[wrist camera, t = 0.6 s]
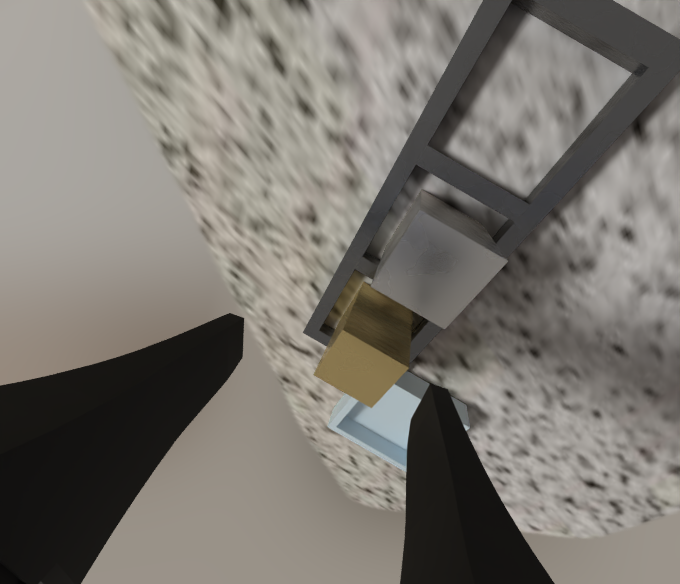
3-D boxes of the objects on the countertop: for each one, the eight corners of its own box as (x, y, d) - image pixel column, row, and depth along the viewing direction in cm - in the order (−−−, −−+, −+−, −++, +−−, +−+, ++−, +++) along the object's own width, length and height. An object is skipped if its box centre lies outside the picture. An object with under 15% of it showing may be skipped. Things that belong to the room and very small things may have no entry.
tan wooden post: (412, 309, 20) (409, 368, 15) (384, 346, 22) (371, 408, 17) (363, 281, 20) (342, 329, 15) (339, 320, 22) (313, 374, 17)
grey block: (481, 223, 16) (508, 261, 11) (439, 277, 18) (444, 329, 13) (421, 189, 16) (420, 209, 11) (385, 246, 18) (370, 286, 13)
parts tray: (466, 405, 22) (470, 427, 20) (408, 450, 27) (407, 473, 25) (376, 353, 22) (372, 371, 20) (333, 407, 26) (327, 426, 25)
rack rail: (677, 57, 11) (698, 50, 11) (392, 374, 23) (391, 383, 22) (507, -42, 11) (514, -57, 11) (307, 325, 23) (302, 332, 22)
